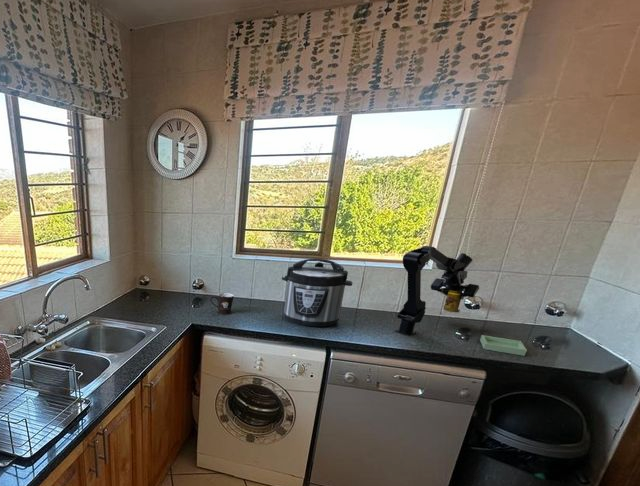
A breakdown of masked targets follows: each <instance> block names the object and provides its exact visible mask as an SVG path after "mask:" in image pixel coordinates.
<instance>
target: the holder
mask: <svg viewBox="0 0 640 486" xmlns="http://www.w3.org/2000/svg"><path fill="white" fill-rule="evenodd" d="M479 341H480V344H481V346H482V348H483V350H487V351H493V352H499V353H504V354H512V355H518V356H523V357H525V356H526V354H527V352H528V349H527V348H526V346H525V345H524V343H523V342H522V341H521V340H516V339H510V338H503V337H498V336H491V335H484V334H482V335H480V338H479Z"/></svg>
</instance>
